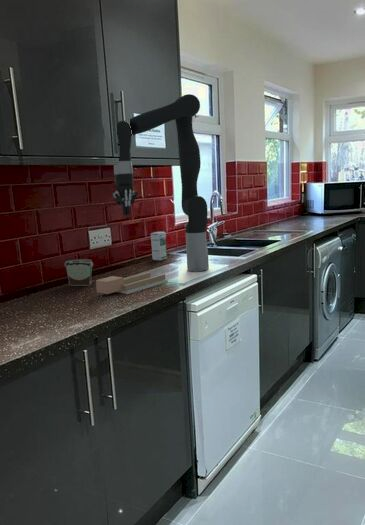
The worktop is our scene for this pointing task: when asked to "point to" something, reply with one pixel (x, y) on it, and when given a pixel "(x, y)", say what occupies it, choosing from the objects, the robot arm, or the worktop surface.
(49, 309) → the worktop surface
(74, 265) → the food container
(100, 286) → the block
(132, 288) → the chute
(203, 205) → the robot arm
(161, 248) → the white pill bottle
